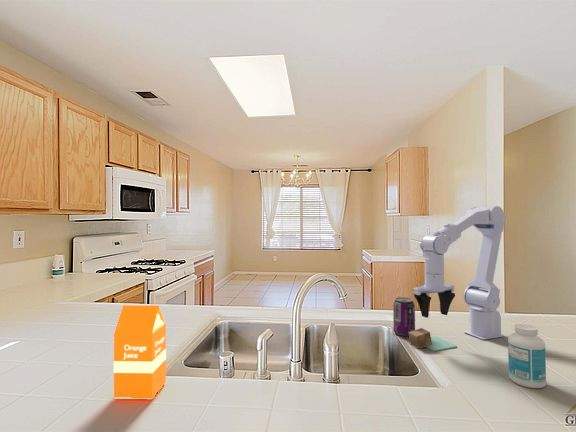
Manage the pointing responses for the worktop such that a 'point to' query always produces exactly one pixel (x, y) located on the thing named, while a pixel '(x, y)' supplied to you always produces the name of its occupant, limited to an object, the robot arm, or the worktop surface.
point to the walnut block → (420, 338)
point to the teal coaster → (439, 344)
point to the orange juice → (139, 352)
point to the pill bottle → (527, 357)
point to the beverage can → (403, 316)
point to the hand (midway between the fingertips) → (434, 315)
